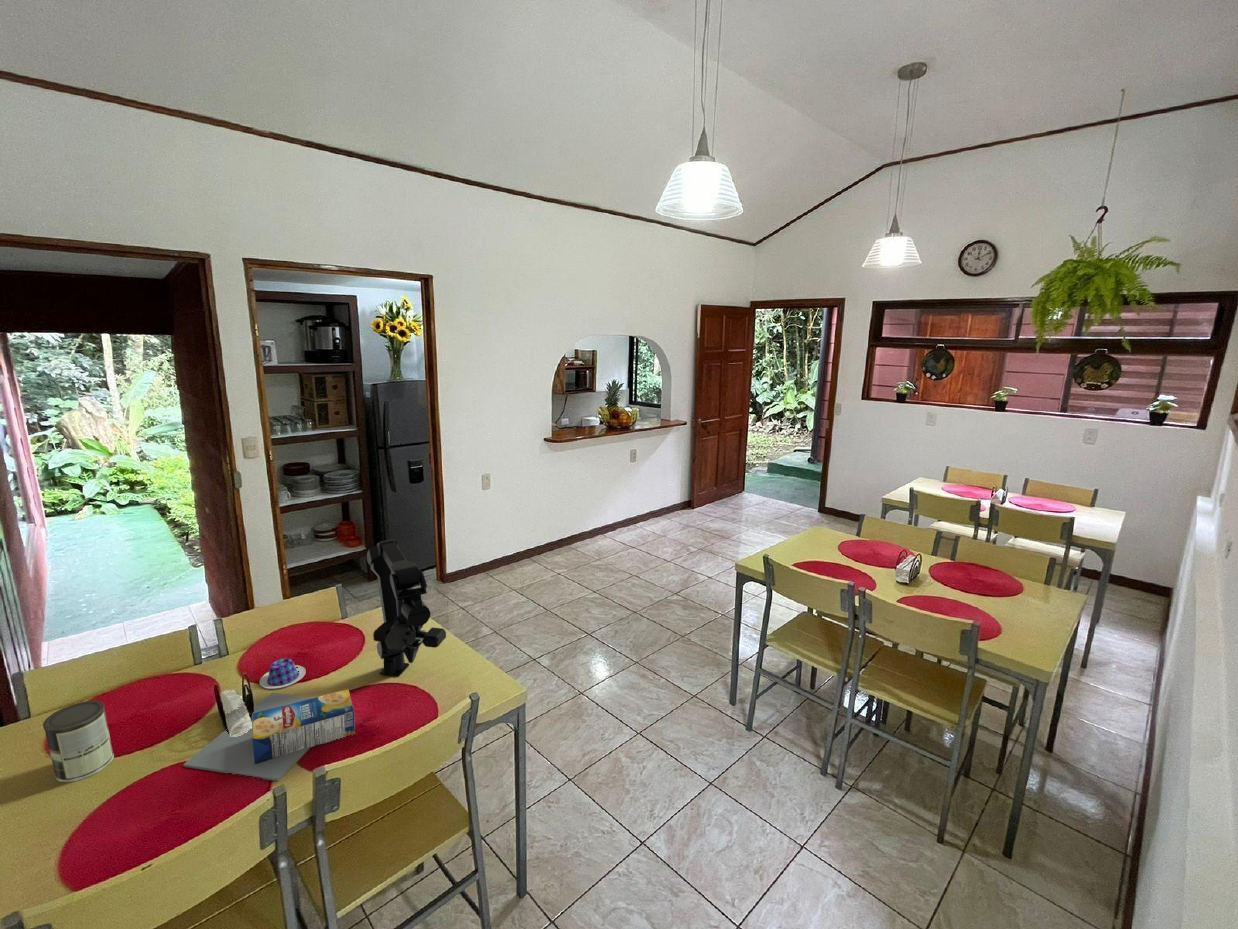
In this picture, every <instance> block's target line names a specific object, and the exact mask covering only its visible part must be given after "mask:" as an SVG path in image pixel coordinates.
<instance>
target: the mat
mask: <svg viewBox="0 0 1238 929" xmlns="http://www.w3.org/2000/svg"><path fill="white" fill-rule="evenodd" d="M311 698H312V697H306V696H296V695H291V694H290V695H289V694H282V693H277V692H275V693H274V692H271V693H269V695H267V696H266V697H264V698H263V699H262V700H260V702H258V704H256V705H255V706H253V708H254V712H253V713H256V712H260V711H264V710H268V709H272V708H276V707H280V706H284V705H288V704H292V703H296V702H300V701H304V700H307V699H311ZM226 730H227V729H225V730H224V731H223V732H222V733H220V734H219V735H218V736H216V737H215V738H214V739H213V740H212V741H210V742H209V743H208V744H207V745H205V746H204V747H203V748H202V749H201V750H199V751H198V752H197V753H196V754H194V755H193V756H192V757H191V758H190V759H188V760H187V761H185V763H183V767H185V768H191V769H196V770H204V771H211V772H215V773H224V774H228V773H232V774H231V775H235V774H241V775H246V776H245V777H247V775H248V776H253V777H252V778H254V777H260V778H262V779H261V780H267V781H273V782H275V781H276V782H280V780H281V779H282V778H283V777H284V776H285V775H286V773H288V772H289V771H290V770H291V768H293V767H294V766H295V764H297V763H298V761H300V759H302V757H303V756H304V755H305V754H307V752H308V751H309V750H310V749H311V748H309V747H307V748H304V749H301V750H298V751H295V752H292V753H289V754H286V755H283V756H279V757H276V758H273V759H270V760H267V761H264V762H261V763H257V764H255V762H254V751H253V739H252V729H250V730H249V731H248V732H247V733H244V734H243V735H241V736H238V737H230V736H229V734H228V732H227V731H226ZM241 775H240V776H241ZM260 778H259V779H260Z"/></svg>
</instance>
